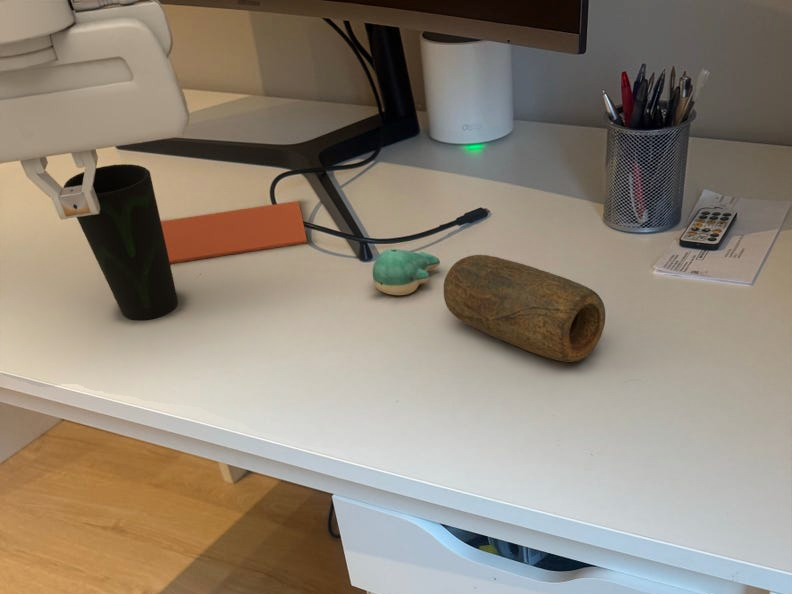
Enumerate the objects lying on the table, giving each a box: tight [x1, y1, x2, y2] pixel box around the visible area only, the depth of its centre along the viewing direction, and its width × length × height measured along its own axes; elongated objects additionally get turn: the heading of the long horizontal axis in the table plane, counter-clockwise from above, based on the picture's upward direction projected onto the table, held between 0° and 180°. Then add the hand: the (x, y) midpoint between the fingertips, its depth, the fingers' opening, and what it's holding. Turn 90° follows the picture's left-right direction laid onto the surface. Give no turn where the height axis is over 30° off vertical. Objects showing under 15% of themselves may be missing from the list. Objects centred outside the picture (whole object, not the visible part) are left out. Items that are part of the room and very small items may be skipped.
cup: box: [62, 163, 179, 321], centre depth 85 cm, size 8×8×12 cm
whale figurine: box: [372, 248, 441, 296], centre depth 88 cm, size 6×7×4 cm
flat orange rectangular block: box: [161, 200, 308, 265], centre depth 101 cm, size 20×12×1 cm, turn 102°
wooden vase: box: [443, 254, 606, 363], centre depth 78 cm, size 15×7×7 cm, turn 48°
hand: (81, 214), depth 70 cm, fingers closed
